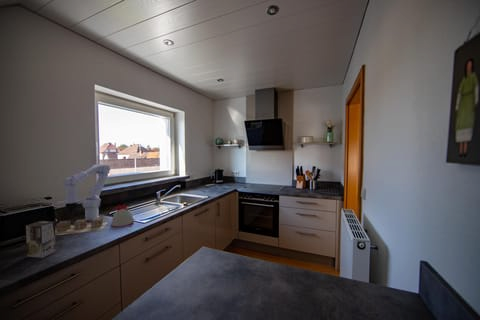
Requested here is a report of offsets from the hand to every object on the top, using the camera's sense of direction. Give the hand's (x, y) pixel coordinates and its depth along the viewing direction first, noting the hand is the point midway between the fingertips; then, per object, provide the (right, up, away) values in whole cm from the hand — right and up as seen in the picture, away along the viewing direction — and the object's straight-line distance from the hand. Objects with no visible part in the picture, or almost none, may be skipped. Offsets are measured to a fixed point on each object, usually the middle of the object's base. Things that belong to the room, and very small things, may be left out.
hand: (71, 214), depth 124 cm
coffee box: (+14, -11, -31) cm, 36 cm away
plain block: (0, -9, -6) cm, 11 cm away
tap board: (+9, -10, -2) cm, 13 cm away
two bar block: (+17, -9, +1) cm, 19 cm away
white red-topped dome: (+30, -10, +8) cm, 33 cm away
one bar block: (+9, -9, -2) cm, 12 cm away
